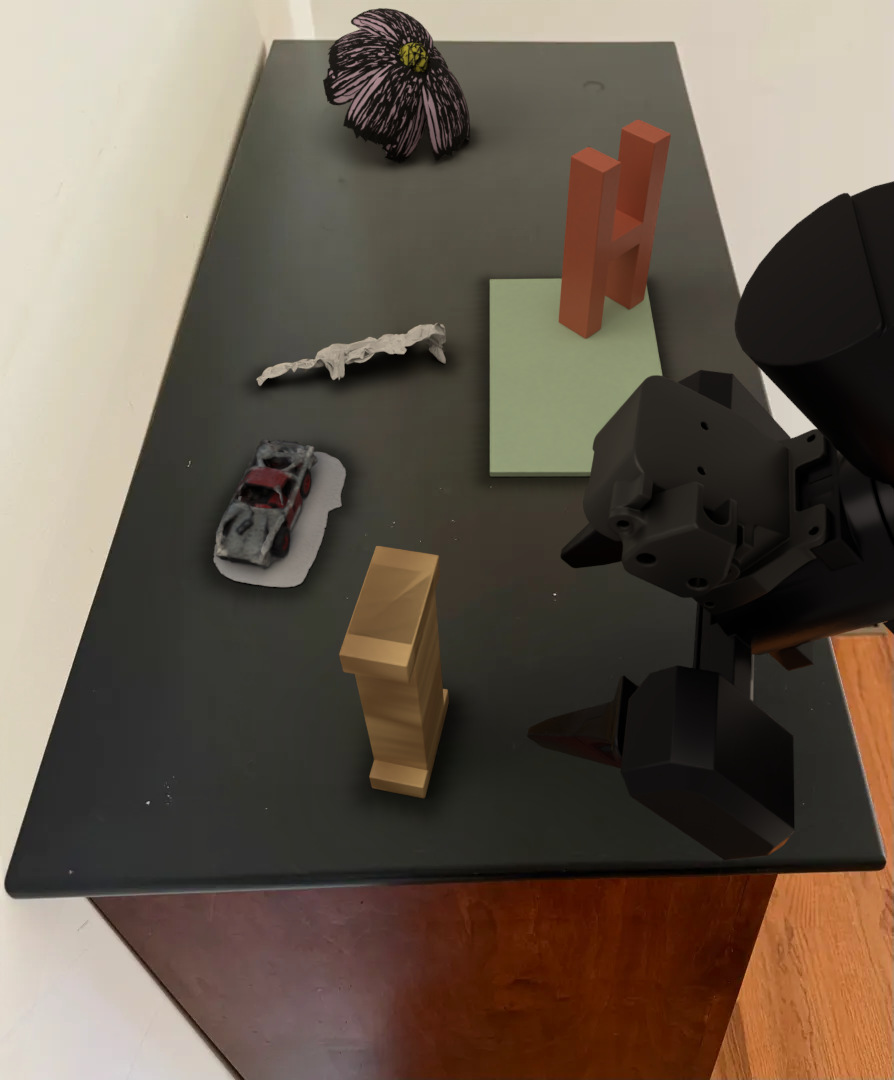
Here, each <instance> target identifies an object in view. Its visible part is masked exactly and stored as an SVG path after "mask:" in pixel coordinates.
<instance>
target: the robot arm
mask: <svg viewBox="0 0 894 1080" xmlns="http://www.w3.org/2000/svg"><path fill="white" fill-rule="evenodd" d="M748 279H749V280H748V281H747V282H746V285H745V286H744V289H743V290H742V294H741V296H740V299H739V301H738V303H737V307H736V313H735V318H734V333H735V338H736V340H737V341H738V344H739V346H740V348H741V350H742V351H743V353H744V354H745V355H746V356H747V357H749V359H750V360H751V361H752V362H753V363H754V364H755V365H756V367H758V368H759V370H761V371H762V373H764V374H765V376H766V377H767V378H768V379H769V380H770V381H771V382H772V383H773V384H774V385H775V387H777V388H778V389H779V390H780V392H781V393H782V394H784V396H785V397H786V398H787V399H788V400H789V401H790V402H791V403H792V404H793V405H794V406H795V407H796V408H797V410H798V411H799V412H801V414H802V415H804V417H805V418H806V419H807V420H808V421H809V422H810V423H811V424H812V425H813V426H814V427H815V428H814V429H813V428H812V429H810V430H808V431H806V432H803V433H801V434H799V435H796V436H794V437H791V436H790V435H789V434H788V432H786V431H785V429H784V428H783V427H782V426H781V425H780V424H779V423H778V422H777V420H776V419H774V417H773V416H772V415H771V414H770V413H769V412H768V410H766V408H765V407H764V406H762V404H761V403H760V402H759V401H758V400H757V399H756V398H755V397H754V395H753V394H752V393H751V392H750V391H749V390H748V389H747V387H745V386H744V384H743V383H742V382H741V381H740V380H739V379H738V378H737V376H736V375H735V374H733V373H731V372H722V371H713V370H704V369H700V370H698V371H696V372H693V373H691V374H690V375H688V376H686V377H684V378H682V379H680V380H679V381H676V380H674V379H671V378H669V377H667V376H664V375H663V376H659V375H653V376H650V377H647V378H646V379H645V380H644V381H643V382H642V383H641V384H640V386H639V387H638V388H637V389H636V390H635V391H634V392H633V394H632V395H631V396H630V397H629V398H628V399H627V400H626V402H625V403H624V404H623V405H622V406H621V407H620V408H619V410H618V411H617V412H616V413H615V414H614V415H613V416H612V418H611V419H610V420H609V421H608V422H607V423H606V424H605V426H604V427H603V428H602V429H601V430H600V431H599V432H598V434H597V435H596V436H595V438H594V442H593V451H594V456H593V462H592V467H591V473H590V476H589V479H588V484H587V487H586V489H585V491H584V494H583V500H582V508H583V513H584V516H585V518H586V520H587V521H588V523H587V524H586V525H585V526H584V527H583V528H582V529H581V530H580V531H579V532H578V533H577V534H576V535H575V536H574V537H573V538H572V539H571V540H570V541H569V542H567V544H566V545H564V547H562V548H561V550H560V555H559V556H560V559H561V560H562V561H563V562H564V563H565V564H567V565H568V566H569V567H571V568H573V569H582V568H592V567H600V566H607V565H611V564H616V563H620V562H621V563H622V567H623V569H624V570H625V571H626V573H628V574H630V575H631V576H633V577H635V578H637V579H640V580H642V581H645V582H647V583H649V584H651V585H653V586H655V587H657V588H659V589H662V590H664V591H666V592H668V593H671V594H672V595H674V596H677V597H679V598H683V599H689V598H691V599H693V600H694V601H695V602H696V612H695V613H696V614H695V626H694V627H695V630H694V643H693V658H692V667H688V666H684V665H674V666H673V665H672V666H670V667H667V668H663V669H659V670H656V671H653V672H650V673H649V674H648V675H647V676H646V677H645V679H644V680H643V681H642V682H641V683H640V684H639V685H638V684H636V683H635V682H634V681H633V680H631V679H630V678H629V677H628V676H626V675H625V674H623V675H621V676H620V677H619V680H618V683H617V687H616V691H615V695H614V698H613V699H612V700H611V701H607V702H603V703H599V704H596V705H593V706H589V707H586V708H581V709H578V710H575V711H571V712H567V713H563V714H559V715H556V716H552V717H549V718H546V719H544V720H542V721H540V722H538V723H535V724H534V725H531V726H529V727H528V728H527V733H526V737H527V739H528V740H530V741H531V742H533V743H535V744H536V745H537V746H539V747H541V748H544V749H546V750H551V751H554V752H556V753H557V752H558V753H562V754H565V755H568V756H572V757H576V758H578V759H579V758H580V759H583V760H587V761H590V762H594V763H598V764H601V765H606V766H609V767H613V768H616V769H619V770H620V774H621V776H622V779H623V782H624V784H625V788H626V789H627V792H628V795H629V797H630V798H632V799H633V800H635V801H637V802H638V803H640V804H641V805H642V806H644V807H645V808H646V809H648V810H649V811H651V812H653V813H655V815H657V816H658V817H660V818H662V820H665V821H666V822H668V823H669V824H670V825H672V826H674V827H675V828H676V829H678V830H679V831H681V832H682V833H683V834H685V835H686V836H688V837H690V838H691V839H692V840H694V841H695V842H697V843H698V844H699V845H702V846H703V848H705V849H707V850H709V851H710V852H712V853H713V854H714V855H716V856H717V857H719V858H721V859H722V860H723V861H731V860H740V859H748V858H756V857H757V858H759V857H768V856H770V855H771V854H772V853H774V852H775V851H777V850H779V849H781V848H782V847H783V846H784V845H786V843H787V841H788V840H789V839H790V837H791V836H792V835H793V833H795V830H796V829H795V828H796V825H795V821H796V820H795V819H796V818H795V746H794V745H795V738H794V734H793V733H792V732H791V731H790V730H788V729H787V728H786V727H784V725H782V723H780V722H779V721H777V720H776V719H775V718H774V717H773V716H771V714H769V713H768V712H767V711H766V710H764V708H762V707H761V706H759V705H758V704H757V703H756V702H755V701H754V683H755V682H754V681H755V680H754V676H755V656H762V655H764V654H765V655H766V654H768V655H769V656H771V658H773V659H774V660H775V661H776V662H777V663H779V664H780V665H781V666H782V667H783V668H784V669H785V670H787V671H788V672H790V671H794V670H797V669H801V668H806V667H810V666H813V665H815V652H814V651H815V649H814V647H815V645H814V642H815V641H819V640H823V639H826V638H830V637H834V636H837V635H838V636H839V635H841V634H845V633H848V632H852V631H857V630H860V629H864V628H867V627H871V626H874V625H878V624H882V625H883V626H885V627H886V629H887V630H888V631H889V632H890V633H892V635H894V180H893V181H889V182H885V183H881V184H877V185H874V186H871V187H869V188H866V189H865V190H862V191H860V192H857V193H855V194H852V195H850V194H849V192H843V193H840V194H838V195H837V196H834V197H833V198H831V199H830V200H828V201H826V202H825V203H823V204H821V205H820V206H819V207H817V208H816V209H814V210H813V211H812V212H811V213H809V214H808V215H806V216H805V217H804V218H802V219H801V220H800V221H798V222H797V223H796V224H795V225H794V226H793V227H792V228H791V229H790V230H788V231H787V233H785V234H784V235H783V236H782V237H781V238H780V239H779V240H778V241H777V242H776V243H775V244H774V245H773V246H772V247H771V249H770V250H769V252H768V253H767V254H766V255H765V256H764V257H763V259H762V260H761V261H760V262H759V264H758V265H757V266H756V268H755V270H754V271H753V273H752V274H751V276H750V278H748Z"/></svg>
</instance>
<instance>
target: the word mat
mask: <svg viewBox="0 0 894 1080" xmlns="http://www.w3.org/2000/svg"><path fill="white" fill-rule="evenodd" d="M561 282H562V277H561V278H494V279H493V278H490V279H489V477H590V473H591V467H592V462H593V456H594V451H593V442H594V438H595V436H596V435H597V434H598V432H599V431H600V430H601V429H602V428H603V427H604V426H605V424H606V423H607V422H608V421H609V420H610V419H611V418H612V416H613V415H614V414H615V413H616V412H617V411H618V410H619V408H620V407H621V406H622V405H623V404H624V403H625V402H626V400H627V399H628V398H629V397H630V396H631V395H632V394H633V392H634V391H635V390H636V389H637V388H638V387H639V386H640V384H641V383H642V382H643V381H644V380H645V379H646V378H647V377H650V376H653V375H659V376H664V375H663V371H662V363H661V359H660V353H659V348H658V342H657V336H656V330H655V325H654V319H653V313H652V308H651V302H650V297H649V290H648V285H647V284H648V283H647V284H646V290H645V296H644V300H643V301H642V302H640V303H639V304H637V305H636V306H634V307H633V308H631V309H628V308H626V307H624V306H622V305H621V304H619V303H617V302H615V301H614V300H612V299H610V298H608V297H607V296H605V300H604V308H603V316H602V324H601V329H600V330H599V331H597V332H596V333H594V334H593V335H591V336H590V337H588V338H587V339H585V338H583V337H582V336H580V335H579V334H577V333H575V332H574V331H572V330H570V329H569V328H567V327H566V326H564V325H562V324H561V323H559V322H558V321H559V308H560V295H561Z"/></svg>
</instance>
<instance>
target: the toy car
mask: <svg viewBox="0 0 894 1080" xmlns="http://www.w3.org/2000/svg"><path fill="white" fill-rule="evenodd" d="M346 472H347V470H346V467H344V464H342V462H341V461H340V460H339V458H336V457H334V456H332V455H329V454H328V453H326V452H322V451H316V447H315V446H313V445H309V444H307V445H303V444H301V443H299V442H298V441H295V440H294V441H291V440H284V439H282V440H281V439H277V440H270V439H269V438H262V439H261V440H260V442H259V444H258V445H257V447H256V449H255V451H254V452H253V455H252V457H251V459H250V461H249V462H248V465H247V468H246V469H245V470H244V473H243V474H242V475H243V476H242V478H241V480H240V481H239V483H238V484H237V486H236V489H235V492H234V493H233V494H232V497H231V499H230V502H229V504H228V506H227V507H226V509H225V511H224V512H223V516H222V517H221V518H220V519H219V521H218V522H217V525H216V528H215V534H214V537H215V543H216V544H215V545H214V551H213V554H212V555H213V556H214V557H213V563H214V564H215V566H216V568H217V570H218V571H219V573H220V574H221V575H223V576H224V577H226V578H228V579H230V580H232V581H235V582H240V583H246V584H251V585H254V586H255V585H257V586H258V585H259V586H263V587H271V588H273V587H276V588H290V587H293V588H294V587H296V586H298V585H301V584H302V583H303V582H304V580H305V579H306V578H307V574H308V573H309V569H311V567H312V565H313V563H314V562H315V560H316V558H317V554H318V551H319V550H320V546H321V545H322V542H323V537H324V536H325V532H326V529H325V528H327V523H328V518H329V517H328V514H329V512H331V511H333V510H335V509H337V508H340V507H342V505H343V504H342V497H341V496H342V495H341V494H342V491H343V488H344V486H345V480H346V478H347V477H346V476H347V473H346Z"/></svg>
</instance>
